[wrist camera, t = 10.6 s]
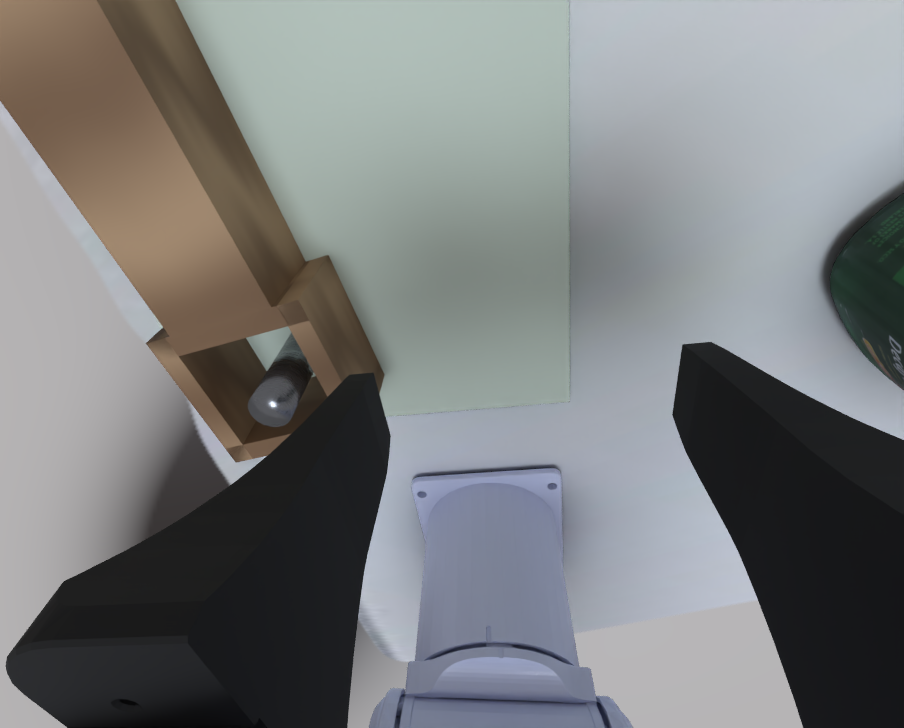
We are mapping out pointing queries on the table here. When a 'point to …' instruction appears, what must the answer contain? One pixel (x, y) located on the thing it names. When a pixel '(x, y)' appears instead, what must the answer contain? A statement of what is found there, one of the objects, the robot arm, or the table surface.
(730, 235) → the table surface
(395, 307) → the board
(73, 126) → the link
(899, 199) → the coffee jar
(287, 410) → the cylinder
